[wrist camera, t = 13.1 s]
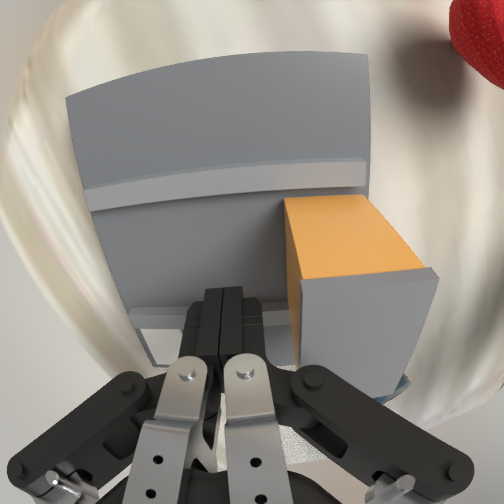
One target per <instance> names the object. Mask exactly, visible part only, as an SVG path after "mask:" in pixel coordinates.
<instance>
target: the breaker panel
mask: <svg viewBox="0 0 504 504" xmlns="http://www.w3.org/2000/svg"><path fill="white" fill-rule="evenodd" d="M65 99H66V106H67V112H68V118H69V124H70V130H71V135H72V140H73V145H74V150H75V155H76V159H77V164H78V168H79V172H80V176H81V180H82V184H83V188H84V191H83V192H84V196H85V199H86V203H87V206H88V210H89V212H90V213H91V216H92V219H93V222H94V226H95V229H96V232H97V235H98V238H99V241H100V244H101V247H102V250H103V252H104V255H105V258H106V261H107V264H108V266H109V269H110V272H111V274H112V277H113V279H114V282H115V284H116V287H117V289H118V292H119V294H120V297H121V299H122V301H123V304H124V306H125V308H126V311H127V313H128V317H129V320H130V322H131V324H132V326H133V328H134V329H135V331H136V333H137V335H138V337H139V339H140V341H141V343H142V345H143V347H144V349H145V351H146V353H147V355H148V357H149V359H150V361H151V363H152V365H153V367H169V366H170V365H171V364H172V363H173V362H174V361H175V360H177V359H178V355H179V350H180V345H181V340H182V334H183V330H184V324H185V322H186V315H187V310H188V309H189V308H190V306H191V305H192V304H193V302H197V301H203V300H204V294H205V289H207V288H220V287H231V286H242V288H243V295H244V298H249V297H256V298H257V299H258V301H259V302H260V303H261V305H262V315H263V326H264V338H265V350H266V357H267V359H268V360H269V362H270V363H271V364H272V365H274V366H284V365H296V363H295V354H294V346H293V337H292V329H291V321H290V313H289V305H288V298H287V264H286V235H285V212H284V198H293V197H311V196H332V195H360V194H363V195H364V196H365V197H366V198H367V199H368V195H369V176H370V141H371V120H370V86H369V69H368V56H367V55H364V54H353V53H340V52H315V51H289V52H264V53H250V54H239V55H230V56H222V57H214V58H207V59H201V60H195V61H189V62H184V63H179V64H174V65H169V66H165V67H160V68H156V69H152V70H148V71H144V72H140V73H136V74H133V75H129V76H126V77H122V78H119V79H116V80H112V81H109V82H106V83H103V84H100V85H97V86H94V87H92V88H89V89H86V90H83V91H81V92H78V93H76V94H73V95H70V96H68V97H66V98H65Z"/></svg>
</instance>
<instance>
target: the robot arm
mask: <svg viewBox="0 0 504 504" xmlns="http://www.w3.org/2000/svg"><path fill="white" fill-rule="evenodd" d="M221 393H225V403H226V418H227V422H226V424H225V445H226V458H227V470H226V471H221V472H217V458H216V448H217V441H218V433H219V425H220V417H221V406H220V404H221ZM278 424H279V425H284V426H289V427H292V429H293V430H294V431H295V432H296V433H298V434H299V435H300V436H301V437H303V438H304V439H305V440H306V441H307V442H309V443H310V444H311V445H313V446H314V447H315V448H316V449H318V450H319V451H320V452H321V453H323V454H324V455H325V456H327V457H328V458H329V459H331V460H332V461H333V462H335V463H336V464H338V465H339V466H340V467H341V468H343V469H344V470H346V471H347V472H349V473H350V474H351V475H353V476H354V477H355V478H357V479H358V480H360V481H361V482H363V483H364V484H366V485H367V486H369V488H368V490H367V492H366V494H365V504H443V503H444V502H445V501H446V500H447V499H448V498H451V497H453V496H454V495H456V494H458V493H460V492H462V491H464V490H465V489H466V488H467V487H468V486H469V485H470V483H471V481H472V479H473V476H474V464H473V462H472V460H471V459H470V457H469V456H467V455H466V454H464V453H463V452H461V451H459V450H457V449H455V448H453V447H452V446H450V445H448V444H446V443H445V442H443V441H441V440H439V439H438V438H436V437H434V436H433V435H431V434H429V433H427V432H426V431H424V430H422V429H421V428H419V427H417V426H416V425H414V424H412V423H411V422H409V421H408V420H406V419H404V418H403V417H401V416H399V415H398V414H396V413H395V412H393V411H391V410H390V409H388V408H387V407H385V406H383V405H382V404H380V403H379V402H377V401H376V400H374V399H373V398H371V397H369V396H368V395H366V394H365V393H363V392H362V391H360V390H359V389H357V388H356V387H354V386H353V385H351V384H350V383H348V382H347V381H345V380H344V379H342V378H341V377H339V376H338V375H336V374H335V373H333V372H332V371H330V370H329V369H327V368H326V367H323V366H320V365H306V366H303V367H301V368H299V369H298V370H297V371H296V372H294V371H288V370H283V369H280V368H277V367H275V366H274V365H272V364H271V363H270V362H269V360H268V359H267V357H266V350H265V338H264V326H263V315H262V305H261V303H260V302H259V301H258V299H257V298H256V297H249V298H244V295H243V288H242V286H231V287H220V288H207V289H205V294H204V300H203V301H197V302H193V304H192V305H191V306H190V308H189V309H188V310H187V315H186V322H185V324H184V330H183V334H182V340H181V345H180V350H179V355H178V359H177V360H175V361H174V362H173V363H172V364H171V365H170V366H169V368H168V370H167V372H166V373H164V374H161V375H158V376H154V377H150V378H147V379H144V378H143V376H142V375H141V374H139V373H137V372H133V371H127V372H123V373H121V374H119V375H117V376H116V377H115V378H113V379H112V380H111V381H110V382H108V383H107V384H106V385H105V386H103V387H102V388H101V389H100V390H98V391H97V392H96V393H94V394H93V395H92V396H91V397H89V398H88V399H87V400H86V401H84V402H83V403H82V404H81V405H79V406H78V407H77V408H75V409H74V410H73V411H71V412H70V413H69V414H68V415H67V416H65V417H64V418H62V419H61V420H60V421H59V422H57V423H56V424H55V425H54V426H52V427H51V428H50V429H48V430H47V431H46V432H44V433H43V434H42V435H40V436H39V437H38V438H37V439H35V440H34V441H33V442H31V443H30V444H29V445H27V446H26V447H25V448H24V449H22V450H21V451H20V452H18V453H17V454H16V455H14V456H13V457H12V458H11V459H10V461H9V463H8V466H7V475H8V478H9V480H10V482H11V483H12V484H13V485H14V486H15V487H17V488H19V489H21V490H23V491H24V492H26V493H28V494H29V495H30V496H32V498H33V499H34V501H35V503H36V504H342V503H341V502H340V501H338V500H337V499H336V498H334V497H333V496H332V495H331V494H330V493H328V492H327V491H326V490H325V489H323V488H322V487H321V486H320V485H319V484H317V483H316V482H315V481H313V480H311V479H310V478H308V477H306V476H304V475H301V474H298V473H295V472H292V471H287V468H286V462H285V457H284V452H283V447H282V441H281V436H280V431H279V425H278ZM131 463H132V466H131V470H130V474H129V475H128V476H127V477H125V478H124V479H123V480H122V481H120V482H119V483H118V484H117V485H116V486H115V487H114V488H113V489H111V490H110V491H109V492H108V493H107V494H105V495H104V496H103V497H102V498H101V499H100V497H99V496H98V490H99V489H100V488H101V487H103V486H104V485H105V484H106V483H108V482H109V481H110V480H111V479H113V478H114V477H115V476H116V475H118V474H119V473H120V472H121V471H123V470H124V469H125V468H126V467H127V466H129V465H130V464H131Z"/></svg>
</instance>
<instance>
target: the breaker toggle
mask: <svg viewBox="0 0 504 504" xmlns="http://www.w3.org/2000/svg"><path fill="white" fill-rule="evenodd" d="M284 212H285V235H286V264H287V298H288V305H289V313H290V321H291V329H292V337H293V346H294V354H295V363H296V371H297V370H298V369H299V368H301V367H303V366H306V365H320V366H323V367H326V368H327V369H329V370H330V371H332V372H333V373H335V374H336V375H338V376H339V377H341V378H342V379H344V380H345V381H347V382H348V383H350V384H351V385H353V386H354V387H356V388H357V389H359V390H360V391H362V392H363V393H365V394H366V395H368V396H369V397H371V398H376V397H381V396H385V395H390V394H393V393H394V391H395V389H396V387H397V385H398V383H399V381H400V379H401V377H402V374H403V372H404V370H405V368H406V366H407V364H408V361H409V359H410V357H411V355H412V352H413V350H414V348H415V345H416V343H417V341H418V338H419V336H420V333H421V331H422V328H423V325H424V323H425V320H426V317H427V315H428V312H429V309H430V306H431V303H432V300H433V297H434V294H435V291H436V288H437V285H438V282H439V277H438V276H437V275H436V273H435V272H434V271H433V269H432V268H431V267H429V268H426V267H425V266H424V265H423V264H422V262H421V261H420V260H419V258H418V257H417V256H416V255H415V253H414V252H413V251H412V250H411V248H410V247H409V246H408V245H407V244H406V242H405V241H404V240H403V239H402V238H401V236H400V235H399V234H398V233H397V232H396V230H395V229H394V228H393V227H392V226H391V225H390V223H389V222H388V221H387V220H386V219H385V218H384V217H383V215H382V214H381V213H380V212H379V211H378V210H377V209H376V208H375V207H374V205H373V204H372V203H371V202H370V201H369V200H368V199H367V198H366V197H365V196H364V195H363V194H360V195H332V196H311V197H293V198H284Z"/></svg>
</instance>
